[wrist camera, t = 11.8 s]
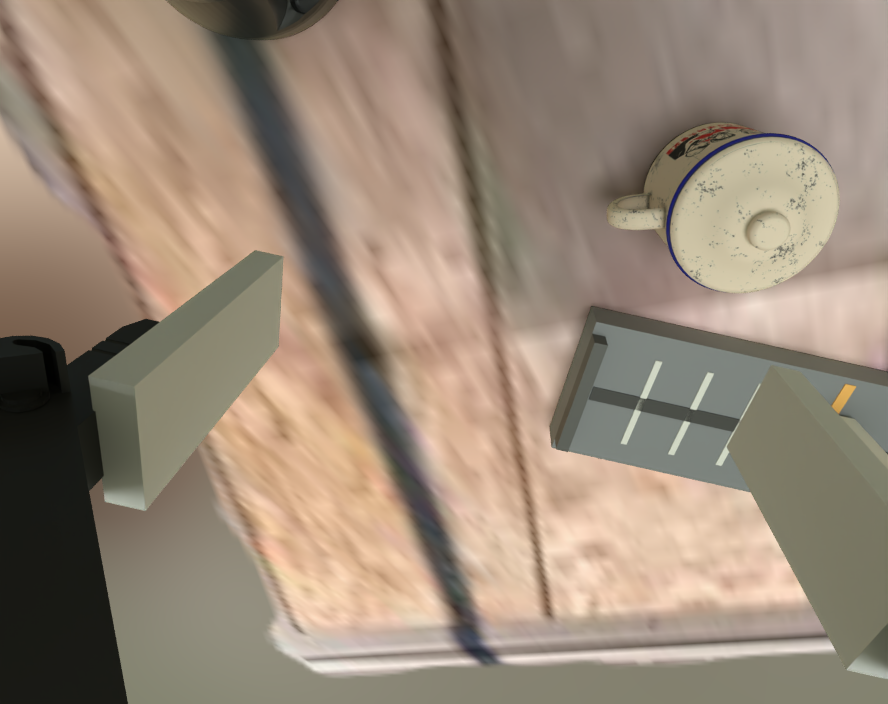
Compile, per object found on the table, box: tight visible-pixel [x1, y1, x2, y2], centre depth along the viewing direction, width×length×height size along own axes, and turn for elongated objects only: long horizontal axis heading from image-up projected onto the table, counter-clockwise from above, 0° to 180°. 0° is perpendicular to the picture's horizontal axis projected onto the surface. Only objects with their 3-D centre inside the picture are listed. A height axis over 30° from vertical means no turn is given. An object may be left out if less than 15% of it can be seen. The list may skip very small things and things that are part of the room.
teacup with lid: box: [607, 123, 839, 293], centre depth 35 cm, size 12×9×12 cm
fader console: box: [550, 306, 888, 492], centre depth 45 cm, size 12×27×4 cm, turn 79°
